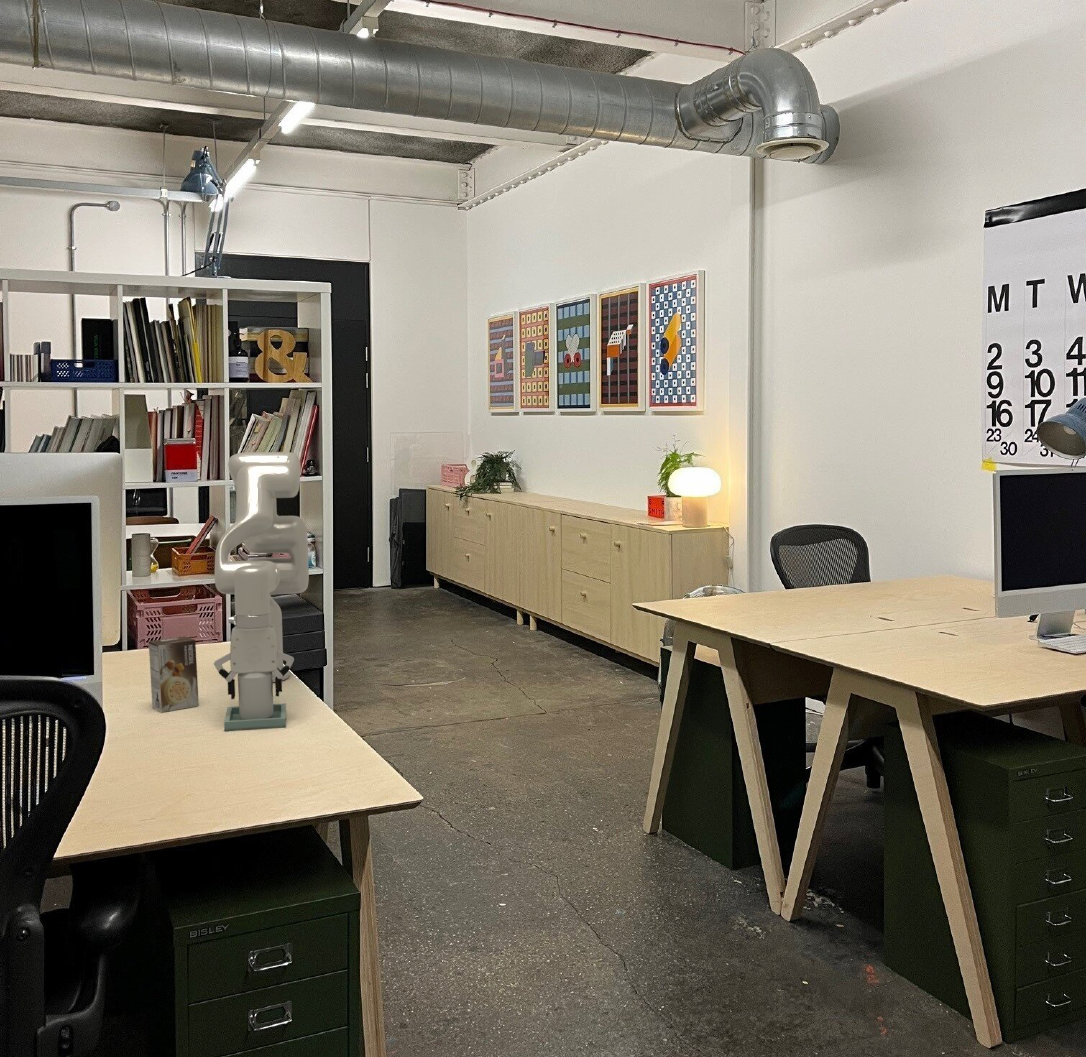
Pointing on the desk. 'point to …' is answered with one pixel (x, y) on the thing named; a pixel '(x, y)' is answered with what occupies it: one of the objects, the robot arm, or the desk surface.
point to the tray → (237, 723)
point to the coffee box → (173, 674)
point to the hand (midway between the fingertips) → (255, 696)
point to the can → (255, 695)
